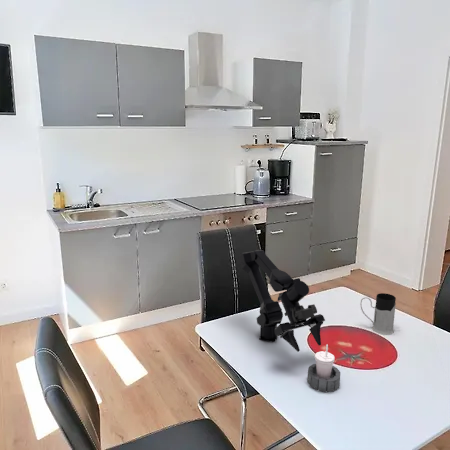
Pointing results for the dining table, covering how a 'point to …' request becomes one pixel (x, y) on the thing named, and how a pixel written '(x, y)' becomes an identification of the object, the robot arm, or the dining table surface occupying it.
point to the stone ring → (323, 380)
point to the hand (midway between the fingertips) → (309, 348)
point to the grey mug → (383, 313)
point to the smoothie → (324, 363)
